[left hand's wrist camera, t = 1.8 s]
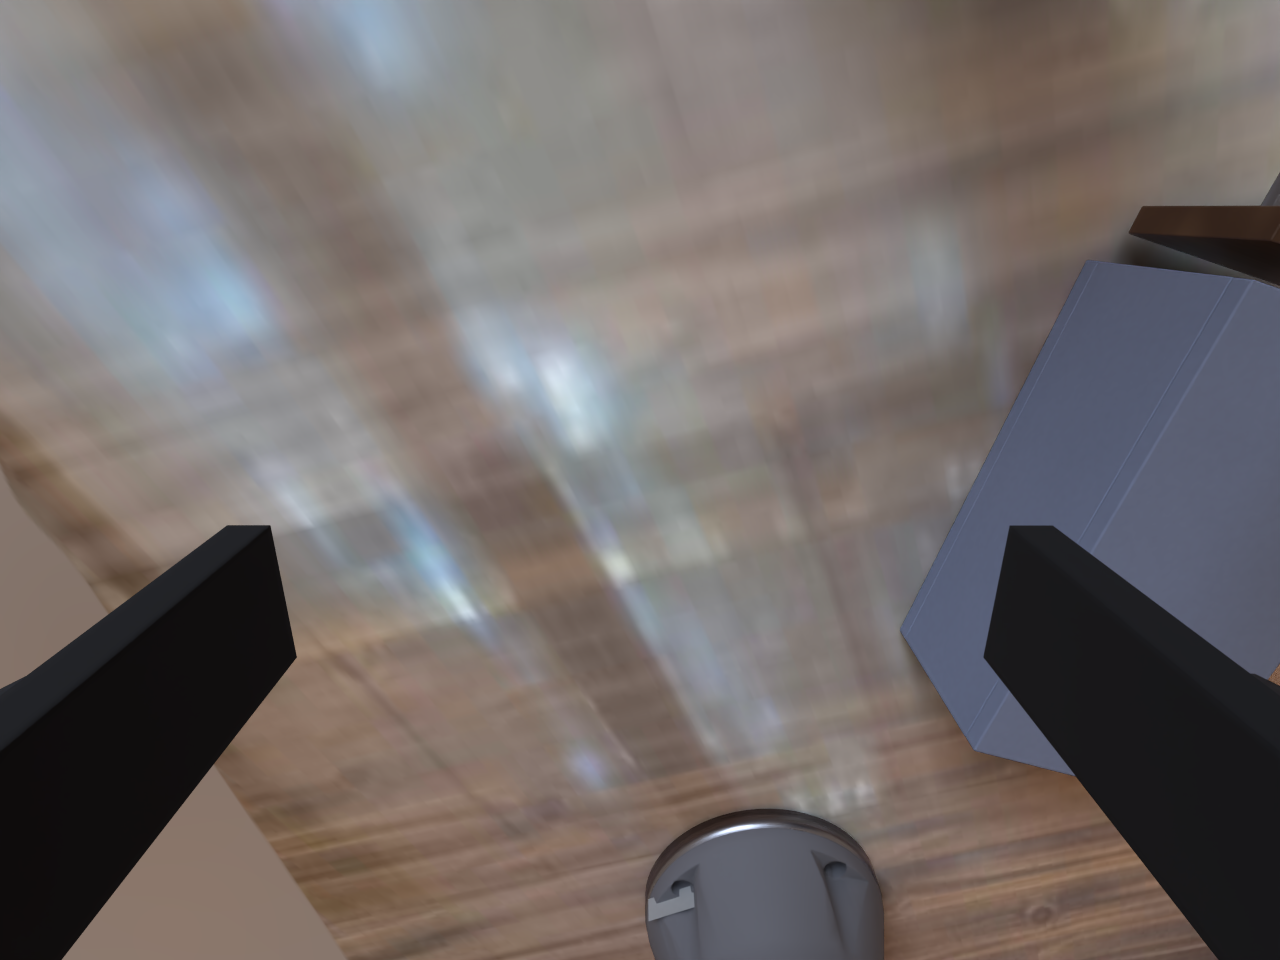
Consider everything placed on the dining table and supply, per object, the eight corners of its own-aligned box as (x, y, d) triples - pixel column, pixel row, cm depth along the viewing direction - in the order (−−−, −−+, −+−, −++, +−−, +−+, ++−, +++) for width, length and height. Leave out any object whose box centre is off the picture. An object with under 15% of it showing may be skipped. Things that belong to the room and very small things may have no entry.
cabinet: (1086, 259, 33) (1253, 279, 24) (1276, 323, 34) (1504, 365, 25) (899, 630, 40) (973, 751, 31) (1060, 673, 41) (1177, 803, 32)
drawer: (1211, 70, 29) (1396, 26, 22) (1395, 140, 30) (1630, 119, 23) (945, 584, 38) (1016, 672, 30) (1094, 625, 38) (1197, 720, 31)
